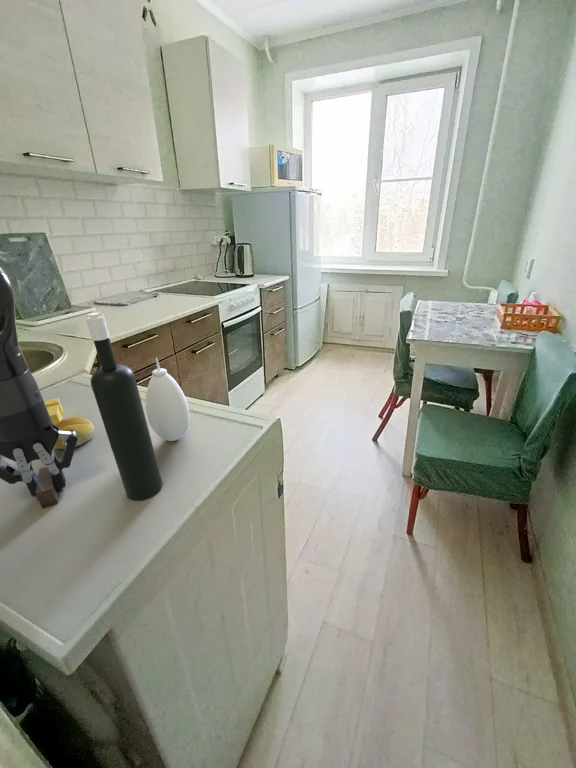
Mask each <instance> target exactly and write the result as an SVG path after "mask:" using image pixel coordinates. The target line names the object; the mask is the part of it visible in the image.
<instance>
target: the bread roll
mask: <svg viewBox="0 0 576 768" xmlns="http://www.w3.org/2000/svg"><path fill="white" fill-rule="evenodd" d="M55 426H56V427H58V429H59V431H68V432H69V431H70V430H72V429H75V430H77V432H78V438H77V443H76V446H75V448H77V447H80V446H81V445H83V444H85V443H87V442H88V441H89V440H91V439H92V438H93V436H94V435H95V431H96V428H95V426H94V424H93V422H91V420H89V419H87V418H86V417H82V416H69V417H66V418H63V420H61V421H60V422H58V423H57V424H56V425H55ZM54 449H55V450H64V449H65V445H63V444H62V440H61V439H60V438H58V440H57V442H56V444H55V446H54Z"/></svg>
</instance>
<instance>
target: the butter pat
mask: <svg viewBox="0 0 576 768" xmlns="http://www.w3.org/2000/svg"><path fill="white" fill-rule="evenodd" d="M43 401H44V403H45V406H46V408H47V407H51V406H55V405H58V406H59V409H60V412H61V414H62V416H64V409H63V405H62V403H61V401H60V398H59V397H56V398H51V399H47V400H43Z"/></svg>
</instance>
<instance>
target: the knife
mask: <svg viewBox="0 0 576 768" xmlns="http://www.w3.org/2000/svg"><path fill="white" fill-rule="evenodd" d="M53 450H54V452H55V455H56V457H57V451H56V449H55V448H53ZM37 475H38V481H37V487H36V493H35V494H36V496H35V497H36V499H37V501H38V503H39V504H40V507H41V509H47V508H49V507H52V506H54V505H57V504H59V495H60V492H57V489H56V487H55V485H54V482H53V480H52V478H51V473H50V471H49V470H48V468H47V467H46V466H44V467H41V468H39V469H38V473H37Z"/></svg>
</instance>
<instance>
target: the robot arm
mask: <svg viewBox="0 0 576 768" xmlns="http://www.w3.org/2000/svg"><path fill="white" fill-rule="evenodd" d="M29 368H30V367H29V366H28V363H27V361H26V359H25V355H24V353H23V351H22V349H21V346H20V343H19V338H18V331H17V321H16V298H15V289H14V285H13V282H12V280H11V278H10V276H9V275H8V274H7V272H6V270H5V269H4V268H3V267H2V266H0V479H1V480H3V481H4V482H6V483H8V484H9V485H14V484H17V483H20V482H22V483H24V484H26V487H27V489H28V491H29V493H30V495H31V496H32V497H33V498H35V497H37V496H36V494H35V493H36V487H37V481H38V473H37V472H36V473H35V470H34V466H33V463H32V462H33V461H39V460H40V461H41V462H42V464H43V466H44V467H47V468H48V470H49V471H50V473H51V478H52V480H53V482H54V485H55V487H56V489H57V492H59V493H61V492H63V491H64V488H66V484H67V483H66V481H67V479H66V477H65V474H64V472H63V469H67V468H70V466H71V463H72V461H73V456H74V454H75V450H76V447H75V446H76V443H77V438H78V432H77V430H75V429H72V430H70V431H69V432H68V431H59V429H58V427H56V426H55V425H54V424H53V423H52V421H51V418H50V416H49V413H48V411H47V408H46V406H45V403H44V401H45V400H44V398H43V395H42V393H41V391H40V388H39V386H38V384H37V380H36V379H35V377H34V376H33V374H32V372H31V370H30V369H29ZM58 438H60V439H61V440H62V444H63V445H65V449H63V453H62V455H61V456H62V457H60V458H58V457H57V456H56V455H55V452H54V450H53V448H54V446H55V444H56V442H57V440H58ZM54 449H55V448H54ZM3 457H4V458H7V459H8V460H11V461H13V462H15V463H16V466H17V468H16V467H15V466H13V465H12V464H10V463H8V462H6V461H5V460H3Z"/></svg>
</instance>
